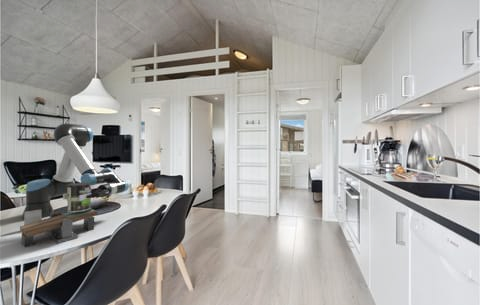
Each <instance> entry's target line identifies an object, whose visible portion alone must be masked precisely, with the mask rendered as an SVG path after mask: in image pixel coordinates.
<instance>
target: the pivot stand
mask: <svg viewBox="0 0 480 305" xmlns="http://www.w3.org/2000/svg"><path fill="white" fill-rule="evenodd" d="M61 214H62V212H54V213H53V214H51V215H50V217H54V216H57V215H61ZM83 229H85V231H88V232H89V231H92V230H95V216H91V217H88V218H85V219H83ZM44 234H45V235H46V236H47V237H49V238H50V239H51V240H52V241H53V242H54V243H56V244H60V243H64V242H68V241H71V240H75V239H78V237H79V236H78V235H79V234H76V233H75V232H74V231H73V223H72V218H70V219H65V220H61V227H58V228H55V229H52V230H49V231H46V232H44ZM34 240H35V239H34V236H32V237H29V238H27V237H26V236H25V235H24V234H23V233H22V232H21V244H22V246H23V247H24V248H25V247H30V246H34Z"/></svg>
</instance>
